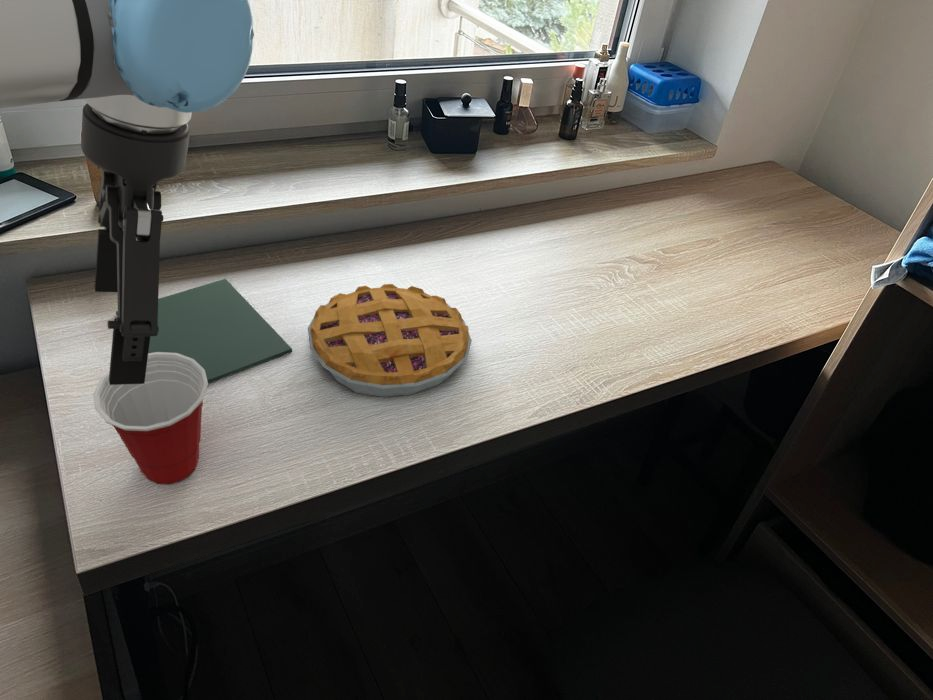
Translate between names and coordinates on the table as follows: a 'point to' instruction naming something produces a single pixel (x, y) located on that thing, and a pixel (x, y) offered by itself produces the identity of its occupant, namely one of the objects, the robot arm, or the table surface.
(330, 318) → the pie
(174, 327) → the placemat
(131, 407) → the plastic cup
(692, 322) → the table surface
